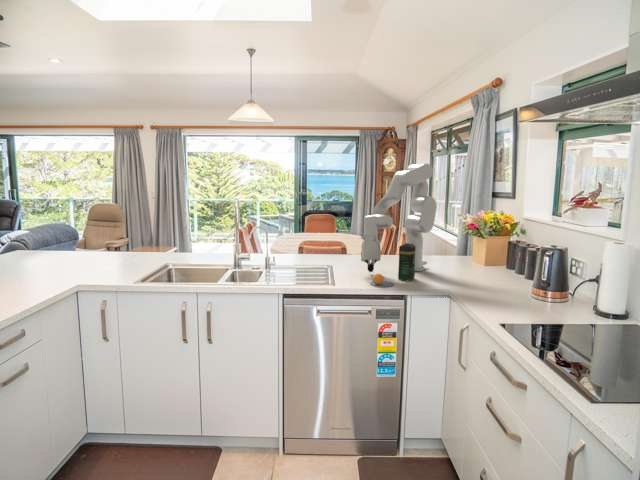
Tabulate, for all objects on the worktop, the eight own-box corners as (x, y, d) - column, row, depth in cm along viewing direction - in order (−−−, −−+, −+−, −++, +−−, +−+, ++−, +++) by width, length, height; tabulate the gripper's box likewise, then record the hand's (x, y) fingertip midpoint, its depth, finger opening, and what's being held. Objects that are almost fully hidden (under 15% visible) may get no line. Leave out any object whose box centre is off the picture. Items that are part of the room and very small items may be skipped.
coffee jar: (411, 281, 206) (412, 245, 204) (396, 280, 210) (397, 244, 207) (416, 277, 215) (417, 243, 212) (401, 276, 218) (402, 242, 216)
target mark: (381, 280, 210) (381, 279, 210) (399, 284, 200) (399, 284, 200) (364, 283, 203) (364, 283, 203) (382, 288, 193) (382, 288, 193)
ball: (381, 273, 196) (381, 285, 196) (385, 273, 201) (385, 284, 200) (370, 273, 199) (371, 285, 199) (375, 273, 204) (375, 284, 203)
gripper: (358, 239, 216) (358, 273, 218) (386, 238, 218) (385, 272, 220) (355, 237, 223) (355, 270, 226) (382, 237, 225) (381, 269, 228)
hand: (370, 271), depth 223 cm, fingers closed
